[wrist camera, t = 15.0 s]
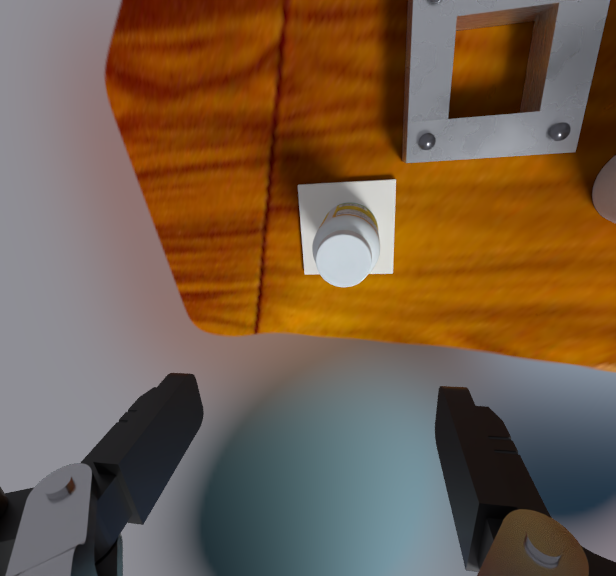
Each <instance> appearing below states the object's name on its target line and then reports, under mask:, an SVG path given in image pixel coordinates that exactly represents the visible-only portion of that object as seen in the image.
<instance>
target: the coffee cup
mask: <svg viewBox="0 0 616 576" xmlns="http://www.w3.org/2000/svg"><path fill="white" fill-rule="evenodd" d="M592 199H593V204H594V206H595V208H596V210H597V212H598V213H599V214H600V215H601V216H602V217H604V218H605V219H607V220H609V221H611V222H614V223H616V155H615V156H614V157H613V158H612V159H611V160H609V161H608V162H607V163H606V165H605V166H604V167H603V168H602V170H601V171H600V173H599V174H598V176H597V178H596V180H595V183H594V186H593V191H592Z"/></svg>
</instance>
